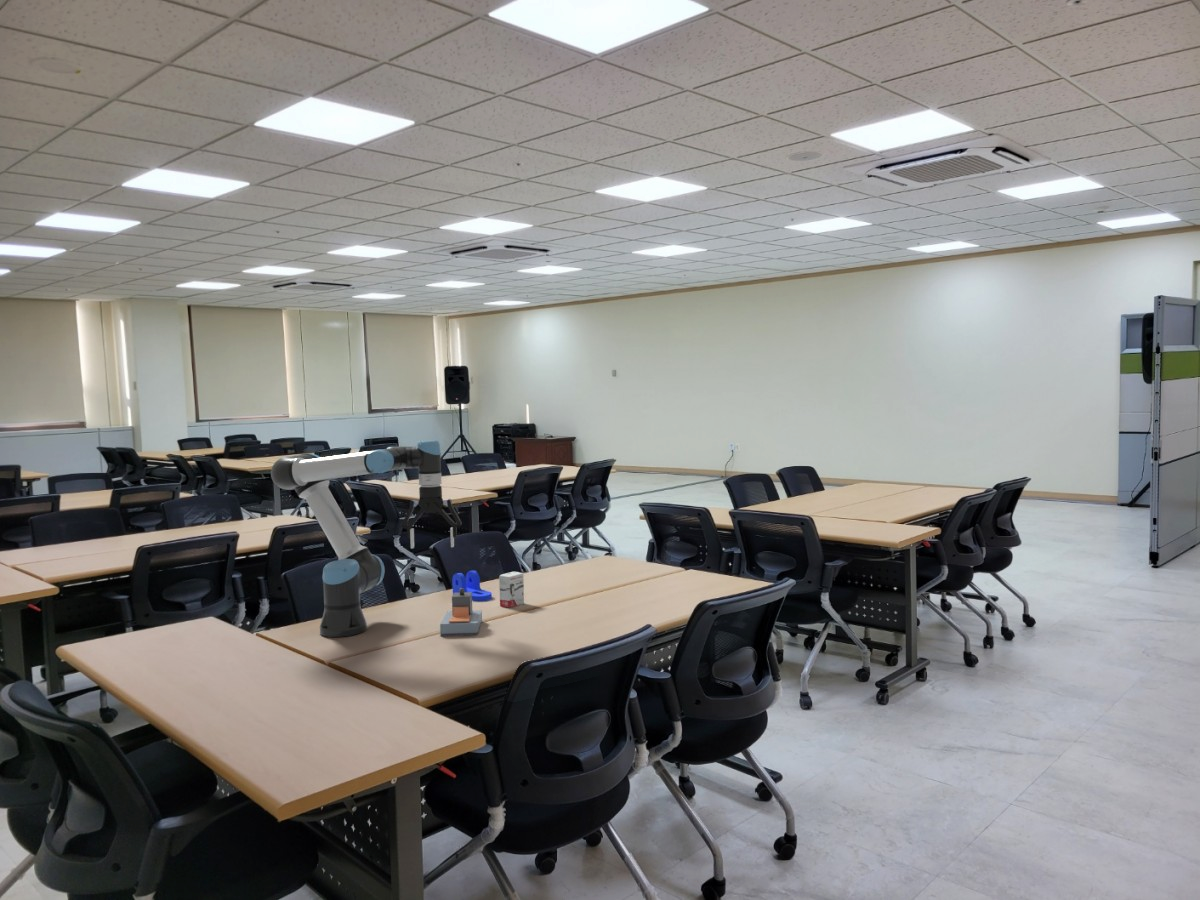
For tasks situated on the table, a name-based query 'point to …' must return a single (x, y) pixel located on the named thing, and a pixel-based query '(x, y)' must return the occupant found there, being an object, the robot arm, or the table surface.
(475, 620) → the socket
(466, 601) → the plug
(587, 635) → the table surface
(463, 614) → the shutter
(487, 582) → the table surface
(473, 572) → the bracket
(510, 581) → the ink box
